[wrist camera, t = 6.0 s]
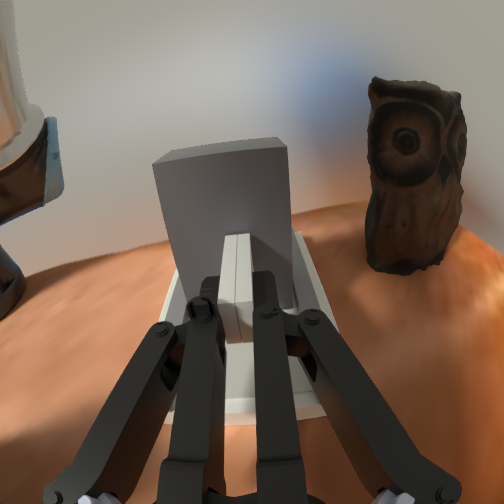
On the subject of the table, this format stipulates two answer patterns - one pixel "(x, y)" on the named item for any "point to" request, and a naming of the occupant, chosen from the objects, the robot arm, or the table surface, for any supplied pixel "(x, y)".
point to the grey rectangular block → (228, 208)
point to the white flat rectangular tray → (241, 354)
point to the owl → (413, 174)
